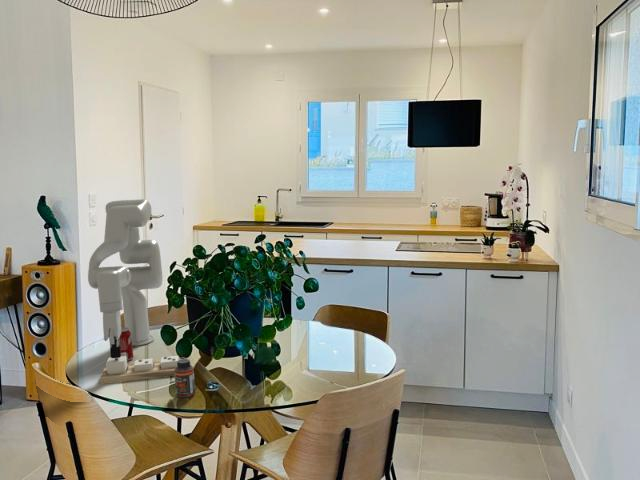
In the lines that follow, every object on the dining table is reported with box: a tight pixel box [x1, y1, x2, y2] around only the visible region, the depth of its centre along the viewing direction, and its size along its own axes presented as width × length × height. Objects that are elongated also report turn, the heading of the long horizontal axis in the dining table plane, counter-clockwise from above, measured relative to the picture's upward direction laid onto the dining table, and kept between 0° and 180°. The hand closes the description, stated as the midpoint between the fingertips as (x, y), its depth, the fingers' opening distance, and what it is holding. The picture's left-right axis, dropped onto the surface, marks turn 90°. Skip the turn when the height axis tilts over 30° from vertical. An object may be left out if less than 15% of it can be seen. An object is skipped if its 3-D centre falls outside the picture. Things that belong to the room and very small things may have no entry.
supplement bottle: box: [174, 358, 196, 399], centre depth 194 cm, size 6×6×11 cm
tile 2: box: [134, 357, 154, 372], centre depth 217 cm, size 6×6×4 cm
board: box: [99, 357, 181, 385], centre depth 217 cm, size 13×28×2 cm, turn 101°
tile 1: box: [105, 356, 128, 374], centre depth 215 cm, size 6×6×4 cm
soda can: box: [119, 326, 134, 362], centre depth 232 cm, size 7×7×12 cm
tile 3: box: [160, 355, 180, 369], centre depth 218 cm, size 6×6×4 cm
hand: (116, 357), depth 214 cm, fingers closed
